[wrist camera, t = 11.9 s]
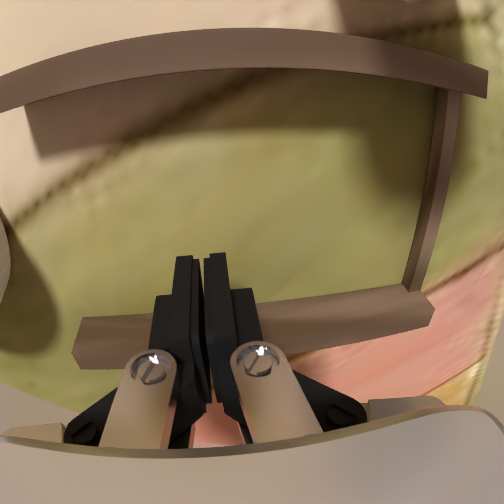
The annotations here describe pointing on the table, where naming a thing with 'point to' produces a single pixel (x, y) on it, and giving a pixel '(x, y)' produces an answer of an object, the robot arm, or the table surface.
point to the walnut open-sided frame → (274, 56)
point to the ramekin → (4, 260)
